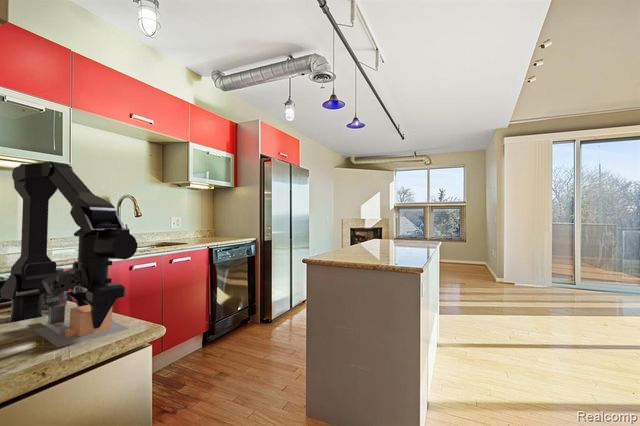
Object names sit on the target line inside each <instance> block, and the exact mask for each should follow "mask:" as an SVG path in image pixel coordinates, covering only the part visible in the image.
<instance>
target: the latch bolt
mask: <svg viewBox="0 0 640 426" xmlns="http://www.w3.org/2000/svg"><path fill="white" fill-rule="evenodd" d="M65 315H66V306H65V305H63V304H62V305H56V306H50V307H49V310H43V311H42V317H41V318H43V319H44V320H46V321H48V323H49V324H55V325H61V324H64V323H65V320H66V319H65V318H66V317H65Z"/></svg>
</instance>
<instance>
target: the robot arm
mask: <svg viewBox="0 0 640 426" xmlns="http://www.w3.org/2000/svg"><path fill="white" fill-rule="evenodd" d="M11 177H12V180H13V186H14V190H15V191H16V192H17V194H18V195H19V196H20V197H21V199H22V211H21V212H22V213H21V214H22V216H21V243H20V244H21V245H20V255H19V256H20V257H19V258H18V259H17V260H16V261H15V262H14V264H13V265H11V269H10V275H9V277H7V278H6V281H5V282H4V284H3V285H2V286H1V288H0V297H1V299H5V300H10V301H11V307H10V316H8V317H5V321H7V322H8V323H10V324H11V323H16V322H17V323H18V322H21V321H27V320H32V319H37V318H43V317H42V312H43V309H42V298H43V294H45V293H48V294H51V295H52V296H56V295H59V294H62V293H63V292H64V291H67V293H66V294H67V296H69V297H71V298H72V299H73V300H75V303H76V305H77V307H80V306H85V305H90V307H91V314H92V322H93V328H95V329H96V328H99V327H100V326H101V324H102V323H103V321H104V319H105V317H106V315H107V314H108V312H109V310H110V309H111V307H112V308H113V306H114V304H115V302H116V301H117V300H118V299H119V298H124V297H126V287H125V286H124V285H123V284H120V283H119V282H112V278H110V277H109V266H113V260H110V259H114V260H115V259H116V260H127V259H130V258H132V257H134V255H135V254H136V252H137V250H138V242H137V239H136V237H135V236H133V234H131V233H130V228H126V227H124V226H125V225H124V223H123V221H122V220H121V218H120V216H119V213H118V212H117V209H116V207H115V205H114V204H112V203H111V202H110V201H108V200H107V199H105V198H103V197H100V196H98V195H96V194H95V193H93V192H92V191H91V190H90V189H89V187H88V185H86V184H85V183H84V182H83V180H81V178H79V176H78V175H77V174H76V173H75V172H74V169H73V167H72V166H71V165H70V164H68V163H64V162H63V163H62V162H58V161H51V160H48V161H43V162H37V163H21V164H20V165H18V166H16V167H14V168H13V169H12V172H11ZM57 191H59V192H60V193H61V195H62V196H63V197H64V198H65V199H66V201H67V202H68V203H69V205H70V206H71V209H70V212H69V214H70V216H71V218H72V219H73V221H74V223H75V225H77V226H78V227H79V229H78V230H76V231H75V232H74V233H73V236H74V237H78V248H77V251H78V252H77V261H76V260H74V262H72V268H70V269H67V270H64V272H61V273H58V274H56V268H57V263H56V261H55V260H54V261H53V260H52V259H51V258H50V257H49V256H48V231H49V229H48V228H49V227H48V226H49V203H50V202H49V201H50V199H51V198H52V197H53V195H54V194H55V193H56V192H57Z"/></svg>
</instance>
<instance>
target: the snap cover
mask: <svg viewBox="0 0 640 426" xmlns="http://www.w3.org/2000/svg"><path fill="white" fill-rule="evenodd" d="M112 315H113V306H112V307H111V309H110V310H109V312H108V314H107V315H106V317H105V319H104V321H103V323H102V324H101V326H100V327H99V328H96V329H95V328H93V322H92V314H91V307H90V305H85V306H80V307H78V306H77V307H76V306H75V307H70V310H69V322H70V328H69V329H65V335H66V336H67V337H71V336H75V335H78V336H84V335H88V334H92V333H96V332H100V331H104V330H108V329H111V327H112V321H113V320H112V319H113V318H112V317H113V316H112Z"/></svg>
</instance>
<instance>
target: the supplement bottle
mask: <svg viewBox="0 0 640 426" xmlns="http://www.w3.org/2000/svg"><path fill="white" fill-rule="evenodd" d="M64 271H65V270H64V268H63V267H56V274H58V273H61V272H64ZM67 292H68V291H64V292H63V293H62V294H59V295H56V296H52V295H51V294H48V293H45V294H43V298H42V311H49V307H50V306H56V305H62V304H63V305H65V307H66V306H67V304H68V295H67V294H66V293H67Z"/></svg>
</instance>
